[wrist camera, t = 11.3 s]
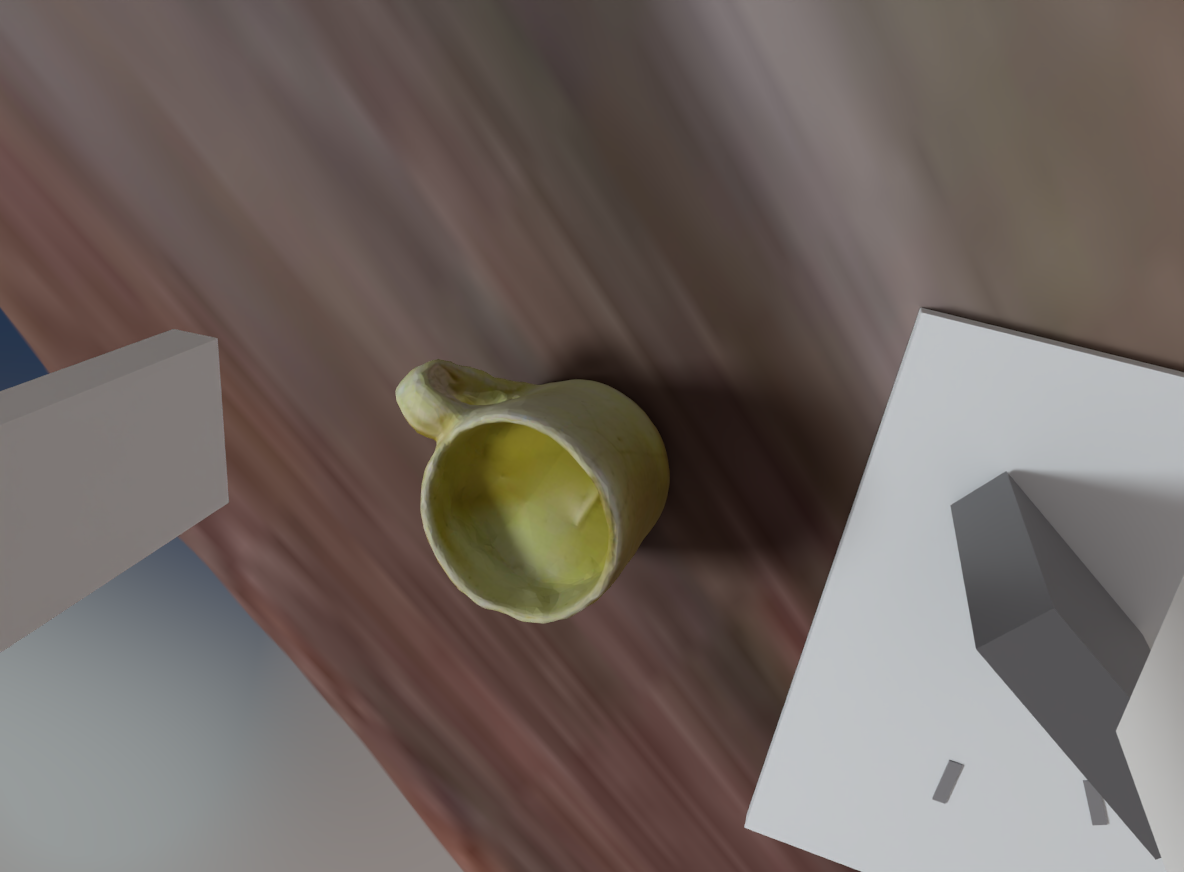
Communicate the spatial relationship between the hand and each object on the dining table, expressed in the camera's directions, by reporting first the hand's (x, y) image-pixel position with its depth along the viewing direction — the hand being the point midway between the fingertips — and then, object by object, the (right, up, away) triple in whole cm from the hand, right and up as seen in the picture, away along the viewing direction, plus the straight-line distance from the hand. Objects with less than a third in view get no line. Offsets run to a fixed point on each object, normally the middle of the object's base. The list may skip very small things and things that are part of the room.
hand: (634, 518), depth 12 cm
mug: (-2, +1, +31) cm, 31 cm away
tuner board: (+21, -9, +27) cm, 36 cm away
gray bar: (+21, -8, +25) cm, 34 cm away
